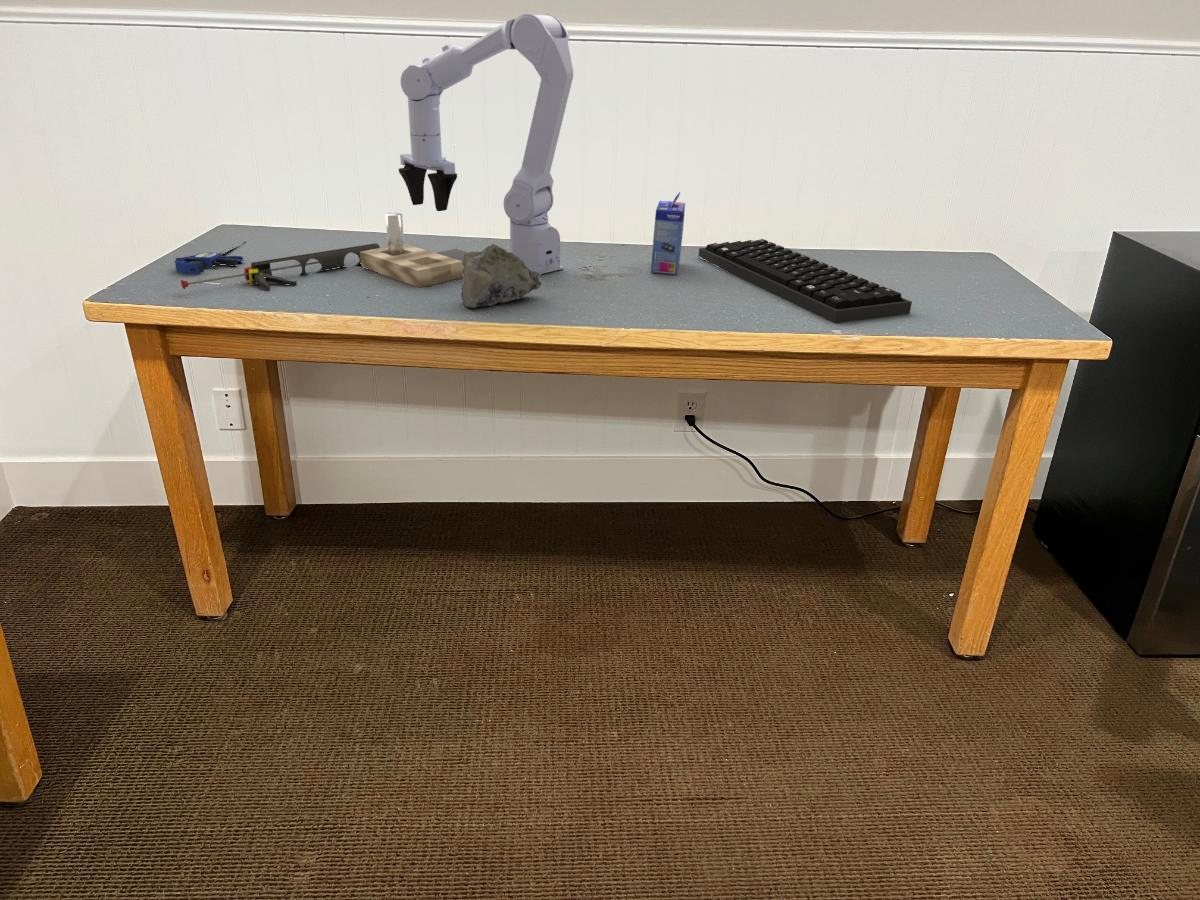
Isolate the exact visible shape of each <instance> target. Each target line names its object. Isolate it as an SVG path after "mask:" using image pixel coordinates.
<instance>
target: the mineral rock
mask: <svg viewBox="0 0 1200 900" xmlns="http://www.w3.org/2000/svg"><path fill="white" fill-rule="evenodd" d="M467 252H468V251H467ZM463 264H464V265H463V284H462V285H461V293H460V296H461V300H462V302H463V305H464V306H465V307H466V308H472V309H476V308H480V307H486V306H487V307H491V306H494V305H496V304H498V303H500V304H504V303H509V302H510V301H514V300H515V301H516V300H520V299H522V298H523V297H524V296H527V294H529V293H531V292H532V291H535V290H538V289H540V287H541V286H542V282H541V281H540V278H541V277H542V274H540V273H538V272H536V271H534V270H530V269H529V268H528V267H527V266H526V265H525V263H524V261H523V260H521V259H520V258H519V257H517V256H516V255H514V254H513V253H511V251H508V250H506V249H504V248H503V247H499V246H498V245H496V244H493V243H492V244H491V245H488V246H486V247H485V248H484V249H483V250H481V251H469V252H468V253H465V255H464V258H463Z"/></svg>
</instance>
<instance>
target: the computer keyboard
mask: <svg viewBox="0 0 1200 900" xmlns="http://www.w3.org/2000/svg"><path fill="white" fill-rule="evenodd" d="M699 256H700V257H702V258H703V259H706V260H707V261H709V262H711V263H713V264H715V265H717V266H719V267H720V268H722V269H724V270H726V271H725V272H727V271H728V272H727V273H729V272H730V274H731V273H732V274H731V275H733V274H734V275H733V276H735V275H736V276H735V277H736V278H739V279H741V280H744V281H746V282H748V283H749V284H752V285H754V286H756V287H758V288H761V289H762V290H764V291H766V292H769V293H770V294H772V295H775V296H777V297H779V298H781V299H783V300H786V301H787V302H789V303H792V304H793V305H796V306H797V307H799V308H802V309H804V310H806V311H808V312H810V313H812V314H815V315H817V316H819V317H820V318H822V319H825V320H827V321H830V322H831V323H833V324H839V323H847V322H853V321H855V322H857V321H863V320H869V319H870V320H871V319H881V318H887V317H896V316H903V315H910V313H911V309H912V303H913V301H911V300H909V299H907V298H903V297H902V293H900V292H898V291H896V290H893V289H891V288H889V287H886V286H880V284H878V283H875V282H873V281H871V282H869V280H868V279H865V278H863V277H858V276H857V275H855V274H852V273H848V271H845V270H843V269H838V268H837V267H836V266H835V267H834V266H832V265H830V266H829V264H827V263H825V262H822V261H821V262H820V261H819V260H817V259H814V258H811V257H810V256H807V255H806V254H803V255H802V253H799V252H796V251H793V250H792V249H789V248H787V247H786V248H785V246H782V245H780V244H779V245H778V244H776V243H774V242H772V241H770V242H769V240H767V239H764V238H759V239H757V240H753V239H750V240H749V239H748V240H745V241H740V240H737V241H733V242H729V241H725V242H720V243H717V242H714V243H709V244H706V247H699V248H698V257H699ZM720 268H719V269H720ZM722 269H721V270H722ZM724 270H723V271H724Z"/></svg>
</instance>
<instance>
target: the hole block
mask: <svg viewBox="0 0 1200 900" xmlns="http://www.w3.org/2000/svg"><path fill="white" fill-rule="evenodd" d="M404 251H405V254H402V255H396V256H391V255H389V254H388V246H383V247H380V248H377V249H372V250H367V251H361V252H360V258H361V265H360V267H361V266H363V267H365V268H368V269H370V270H373V271H375V272H374V273H376V272H378V273H377V274H379V273H381V274H380V275H382V274H383V275H382V276H385V275H386V276H385V277H388V276H389V277H388V278H391V279H393V280H394V279H395V280H397V281H400V282H402V283H406V284H408V285H411V286H414V287H417V288H422V287H426V286H427V287H428V286H430V285H435V284H440V283H443V282H444V283H445V282H448V281H452V280H456V279H457V280H458V279H462V278H464V274H463V266H464V265H463V262H462V261H460V260H457V259H453V258H450V257H447V256H443V255H440V254H437V252H434V251H433V252H432V251H429V250H426V249H423V248H419V247H416V246H413V245H411V244H410V245H409V244H408V243H407V244H406V243H404ZM370 270H369V271H370ZM373 271H372V272H373Z"/></svg>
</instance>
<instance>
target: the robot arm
mask: <svg viewBox="0 0 1200 900" xmlns="http://www.w3.org/2000/svg"><path fill="white" fill-rule="evenodd" d="M569 39H570V33H569V32H568V31H567V30H566V28H565V26H564V25H563V23H562V21H561V20H560V19H559V18H558V17H556V16H555V15H554V14H551V13H550V14H549V13H548V14H533V13H523V14H520V15H519V16H517V17H516V18H511V19H508V20H506V21H505V22H503V23H502V24H500V25H499V26H497V27H495V28H494V29H492V30H490V31H488V32H487V33H486V34H485V35H483V36H480V37H479V38H478V39H476V40H474V41H473V42H471V43H470V44H468V45H467V46H465V47H464V48H463V47H462V46H460V45H456V44H454V45H452V44H445V45H444V46H442V47H441V50H442V51H441V52H439V53H437V54H435V55H434V56H432V57H431V58H430V57H424V58H423V59H422V64H421V65H416V64H412V65H411V64H410V65H408V66H407V68H405V69H404V70H403V71H402V73H401V76H400V86H401V89H402V92H403V93H404V95H405V96H406V97H407V108H408V118H409V119H408V120H409V121H408V122H409V137H410V138H409V139H410V151H411V152H410V153H404V154H400V155H399V156H400V157H399V159H400V165H401V166H403V167H400V168H398V172H399V174H400V176H401V177H402V179H403V182H404V184H405V186H406V188H407V190H408V193H409V197H410V200H411V203H412V206H419V205H423V204H424V199H425V195H424V194H425V179H426V174H427V177H428V178H427V179H428V180H429V182H430V184H431V188H432V193H433V199H434V205H435V210H436V212H442V211H444V212H445V211H447V210H448V205H449V201H450V195H451V193H452V189H453V186H454V184H455V182H456V181H457V179H458V173H456V163H455V162H453V161H449V160H448V159H446V158H447V157H446V156H445V157H444V156H442V154H443V153H442V136H441V134H442V133H441V117H440V105H441V101H440V99H441V96H442V94H443V92H444V91H445V90H447V89H448V88H451V87H453V86H454V85H457V84H458V83H460V82H461V81H464V80H465V79H468V78H469V77H470V76H471V75H472V73H473V68H474V66H476V65H478V64H479V63H481V62H483V61H486V60H488V59H490V58H492V57H494V56H496V55H498V54H501V53H502V52H504V51H506V50H516V51H518V53H519V54H521V56H523V57H524V58H525V59H526V60H528V62H529V63H531V65H532V66H533V67H534V69H535V70H536V72H537V75H539V78H540V83H539V88H538V92H537V96H536V102H535V106H534V109H533V110H534V111H533V114H532V119H531V123H530V128H529V132H528V137H527V141H526V146H525V150H524V156H523V159H522V162H521V167H520V169H519V171H518V172H517V174H515V176H514V178H513V180H512V185H511V186H510V188H509V190H508V191H507V192H506V194H505V195H504V198H503V209H504V212H505V215H506V216H507V218H509V228H510V229H509V238H510V240H509V241H510V242H509V243H510V244H509V245H510V253H513V254H514V255H516V256H517V257H519V258H520V259H521V260H523V261H524V263H525V265H526V266H527V267H528V268H529V269H530V270H534V271H536V272H538V273H540V274H541V275H543V274H547V273H551V272H555V271H559V270H563V268H564V266H563V265H561V235H560V233H559V231H558V229H557V228H555V227H554V226H551V224H550V223H549V216H548V213H549V211H550V210H551V209H552V207H553V205H554V194H553V184H554V178H553V177H552V174H551V169H552V166H553V162H554V156H555V155H556V154H555V153H556V149H557V145H558V142H559V141H558V140H559V138H560V137H559V136H560V132H561V128H562V125H563V121H564V117H565V112H566V107H567V103H568V101H569V100H568V99H569V97H570V96H569V95H570V92H571V88H572V83H573V80H574V67H573V63H572V57H571V53H570V48H569V46H570V45H569ZM428 170H429V171H434V172H433V173H427V171H428Z"/></svg>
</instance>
